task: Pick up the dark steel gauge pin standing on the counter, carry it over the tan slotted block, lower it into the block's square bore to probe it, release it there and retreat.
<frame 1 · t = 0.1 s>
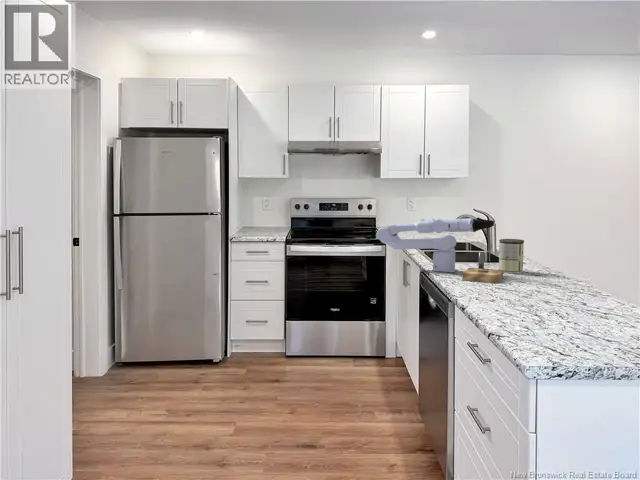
hand: (492, 224, 238), 22 cm above the countertop, tool horizontal, fingers open, 7 cm apart
coffee can: (510, 272, 246), on the countertop
tan slotted block: (482, 278, 229), on the countertop
gauge pin: (481, 273, 242), on the countertop
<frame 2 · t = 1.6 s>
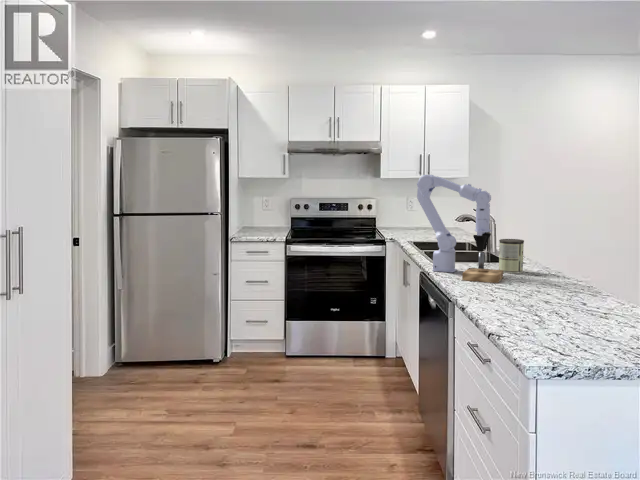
hand: (481, 250, 241), 10 cm above the countertop, tool pointing down, fingers open, 7 cm apart
nothing on the countertop moved.
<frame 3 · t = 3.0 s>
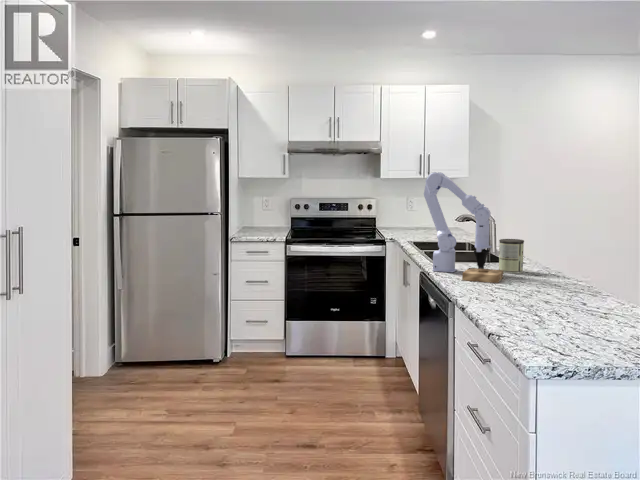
hand: (481, 266, 242), 3 cm above the countertop, tool pointing down, fingers closed on gauge pin, 2 cm apart
gauge pin: (480, 273, 242), on the countertop, touching gripper
everything else where it was.
when the fingers open (4 cm above the countertop, at t = 7.2 s): gauge pin stays where it is, resting in tan slotted block.
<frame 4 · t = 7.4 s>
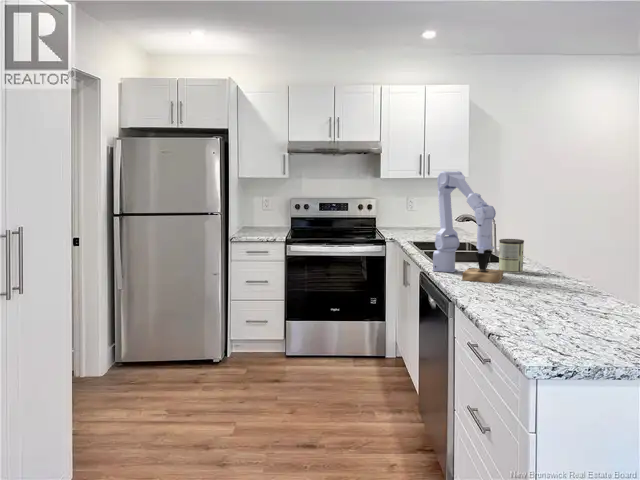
hand: (483, 268, 229), 4 cm above the countertop, tool pointing down, fingers open, 4 cm apart
gauge pin: (483, 278, 229), resting in tan slotted block
everything else where it was.
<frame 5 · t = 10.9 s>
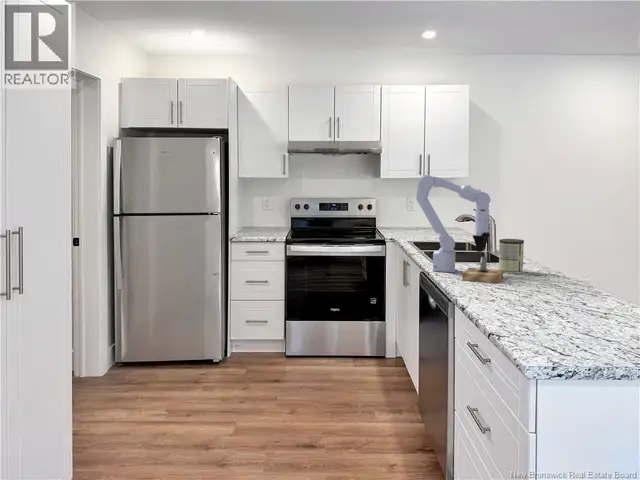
hand: (480, 250, 245), 9 cm above the countertop, tool pointing down, fingers open, 7 cm apart
nothing on the countertop moved.
at the end: gauge pin 0.0 cm off-centre on the tan slotted block, point 0.0 cm above the tan slotted block's base; gauge pin tilted 0°; the gripper is holding nothing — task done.
